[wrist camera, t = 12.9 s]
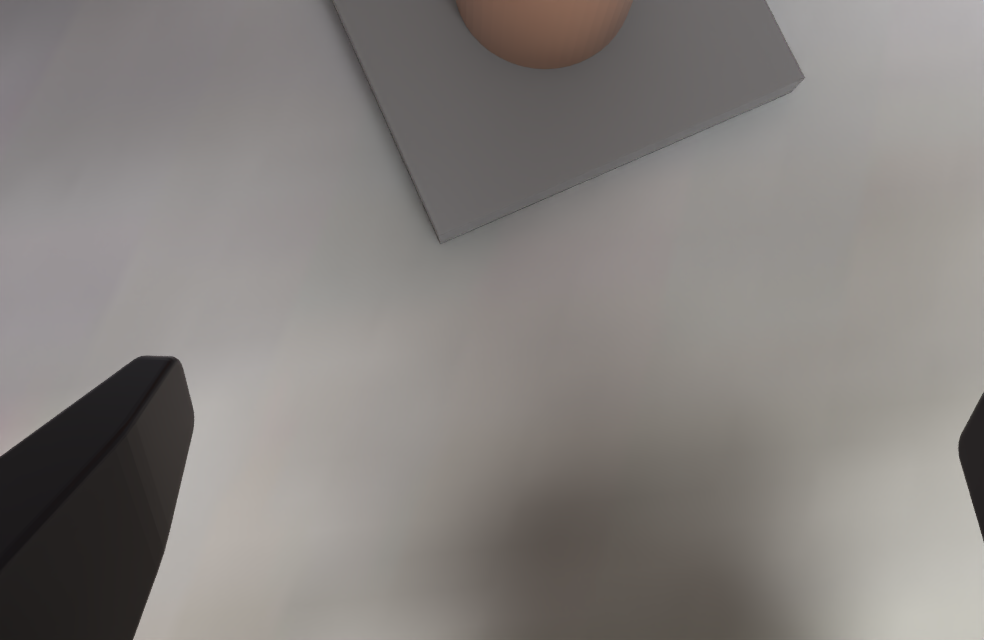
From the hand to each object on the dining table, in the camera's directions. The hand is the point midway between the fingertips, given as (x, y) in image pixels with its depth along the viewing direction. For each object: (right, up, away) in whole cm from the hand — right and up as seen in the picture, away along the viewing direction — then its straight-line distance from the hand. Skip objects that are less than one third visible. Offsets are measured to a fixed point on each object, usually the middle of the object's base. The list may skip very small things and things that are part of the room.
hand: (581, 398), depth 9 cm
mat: (0, +10, +15) cm, 18 cm away
